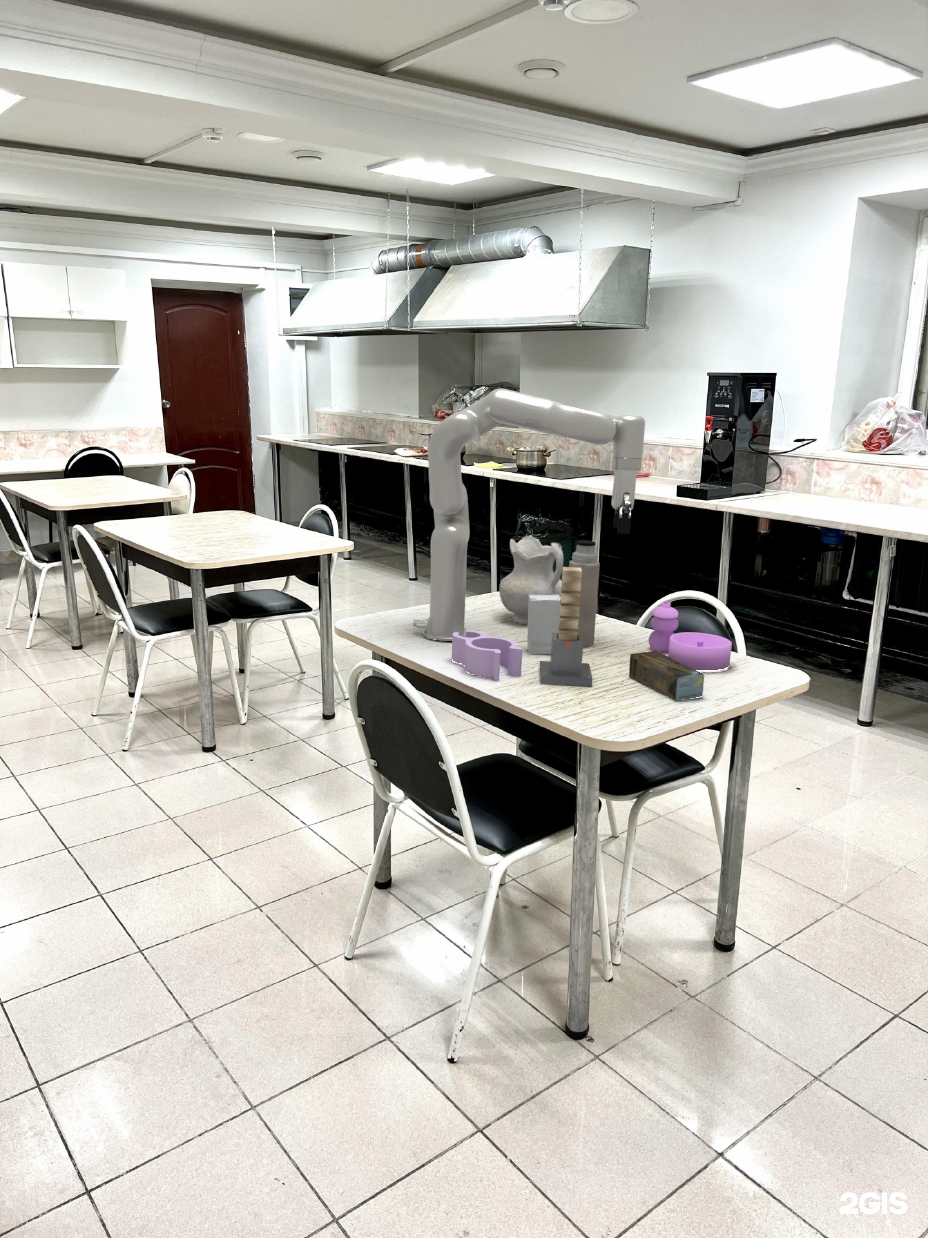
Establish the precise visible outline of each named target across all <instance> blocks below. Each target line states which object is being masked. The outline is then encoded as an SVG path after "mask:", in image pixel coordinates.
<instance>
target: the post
mask: <svg viewBox="0 0 928 1238" xmlns="http://www.w3.org/2000/svg"><path fill="white" fill-rule="evenodd" d="M581 578H582V570H581V568H575V567H569V566H563V569H562V574H561V581H562V586H561V599H560V611H559V615H560V618H559V633H558V639H562V640H577V634H578V620H579V607H580V594H581Z"/></svg>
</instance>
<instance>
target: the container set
mask: <svg viewBox="0 0 928 1238" xmlns="http://www.w3.org/2000/svg"><path fill="white" fill-rule="evenodd" d="M671 604H672V603H671V602H670V601H662V602H661V605H660V606H657V607H655V608H653V610H652V611H651V612H652V616H653V617H652V618H651V619H650V626H651V627H652V629H653V631H652V632H651V633H650V634H649V637H648V645H649V647H650V648H651V649H652V651H657V652H660V653H663V652H667V653H668V654H667V656H668V657H670V658H672V659H674V660H676V661H678V662H680V663H682V664H684V665H686V666H688V667H690V668H692V669H694V670H718V669H724V668H726V667H728V666H729V667H730V664H731V663H730V662H731V654H732V645H733V643H732V641H731V640H730V639H728V638H726V637H723V636H720V635H717V634H711V633H704V632H693V631H691V632H687V631H685V632H678V633H676V632H675V633H674V631H676V630H677V629H678V627H679V620H678V619H677V618H678V617H679V611H678V610H677V609H676V608H674V607H672V606H671Z"/></svg>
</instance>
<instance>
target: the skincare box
mask: <svg viewBox="0 0 928 1238" xmlns="http://www.w3.org/2000/svg"><path fill="white" fill-rule="evenodd" d="M560 599H561V598H560V597H559V595H529V599H528V624H527V638H526V639H527V646H526V647H527V651H528V654H529V655H551V646H552V632H555V633H559V618H560V615H559V611H560Z"/></svg>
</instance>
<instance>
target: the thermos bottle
mask: <svg viewBox="0 0 928 1238" xmlns="http://www.w3.org/2000/svg"><path fill="white" fill-rule="evenodd" d="M595 546H596V542H595V541H592V540H577V541H576V547H575V548H576V549H575V551H574V552H572V556H571V558H572V560H569V564H568V567H575V568H581V570H582V578H581V594H580V607H579V620H578V634H582V637H583V648H589V647H594V645H595V644H594V642H595V634H596V633H595V632H596V631H595V630H596V618H597V617H596V616H597V606H598V605H597V604H598V590H599V578H600V562H598V559H599V556H598V554H597V552H595V551H596V547H595Z"/></svg>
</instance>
